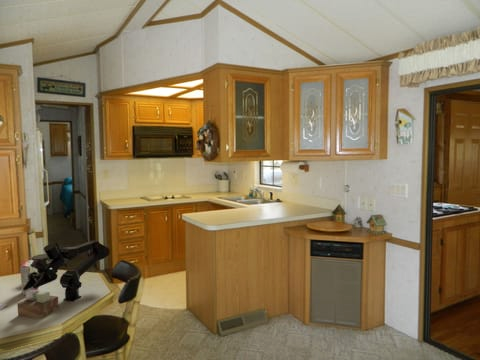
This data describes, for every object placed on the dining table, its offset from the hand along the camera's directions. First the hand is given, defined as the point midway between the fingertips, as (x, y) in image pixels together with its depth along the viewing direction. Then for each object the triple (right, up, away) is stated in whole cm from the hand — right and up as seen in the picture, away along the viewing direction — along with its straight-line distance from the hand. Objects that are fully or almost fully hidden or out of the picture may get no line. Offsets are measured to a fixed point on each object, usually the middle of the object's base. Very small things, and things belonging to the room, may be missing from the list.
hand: (28, 288), depth 176 cm
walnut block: (0, -14, +9) cm, 16 cm away
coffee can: (-22, -10, +54) cm, 59 cm away
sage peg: (+3, -10, +7) cm, 13 cm away
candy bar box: (-18, -12, +34) cm, 41 cm away
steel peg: (-3, -10, +9) cm, 14 cm away
